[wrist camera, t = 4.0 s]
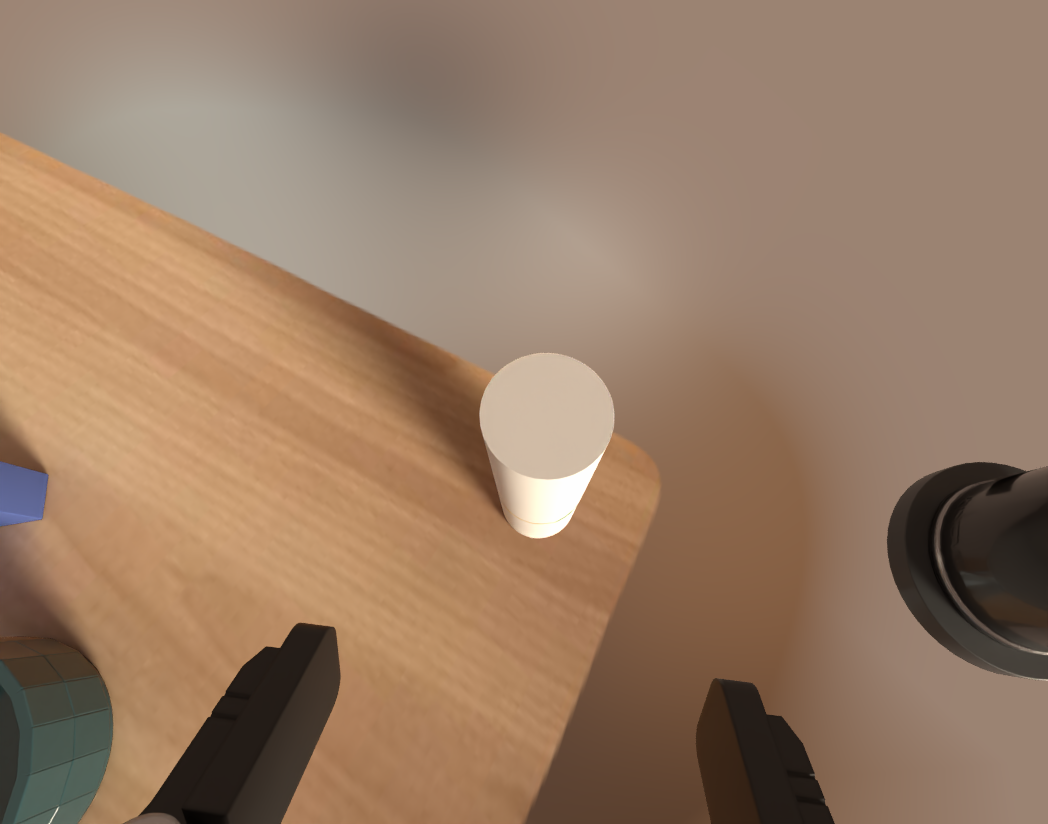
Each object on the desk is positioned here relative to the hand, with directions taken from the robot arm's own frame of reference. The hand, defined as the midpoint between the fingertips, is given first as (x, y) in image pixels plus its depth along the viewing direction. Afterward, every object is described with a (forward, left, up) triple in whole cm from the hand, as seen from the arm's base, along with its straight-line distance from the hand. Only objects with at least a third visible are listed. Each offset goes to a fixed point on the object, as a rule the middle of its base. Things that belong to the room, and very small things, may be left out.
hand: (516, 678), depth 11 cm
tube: (+2, -7, -18) cm, 20 cm away
